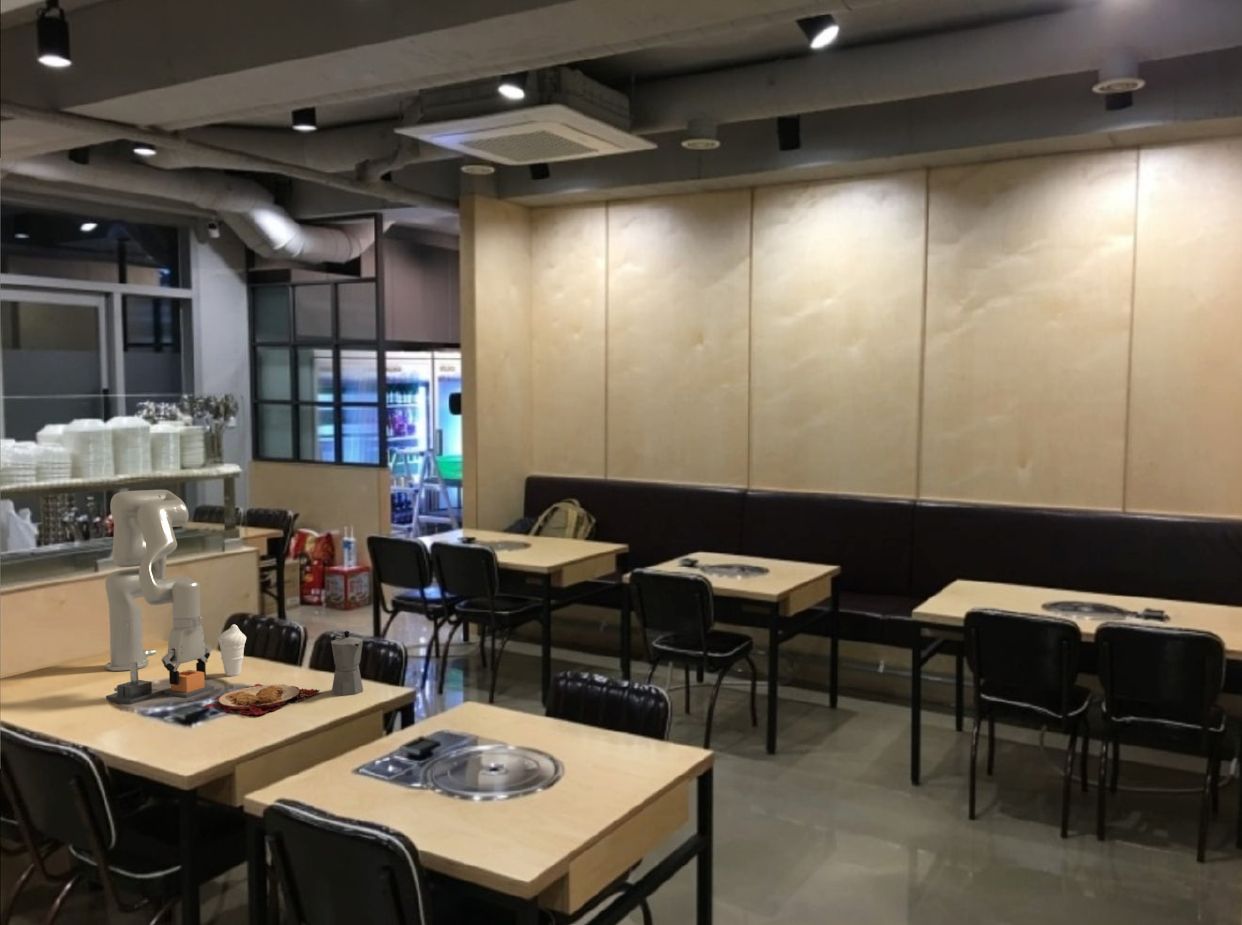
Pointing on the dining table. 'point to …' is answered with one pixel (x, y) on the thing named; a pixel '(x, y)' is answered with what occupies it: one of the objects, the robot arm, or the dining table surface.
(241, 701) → the plate with food
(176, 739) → the dining table surface
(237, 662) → the soft serve ice cream cone
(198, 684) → the orange square tube
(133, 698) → the grey peg stand
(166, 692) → the mat
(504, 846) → the dining table surface
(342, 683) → the coffeepot
